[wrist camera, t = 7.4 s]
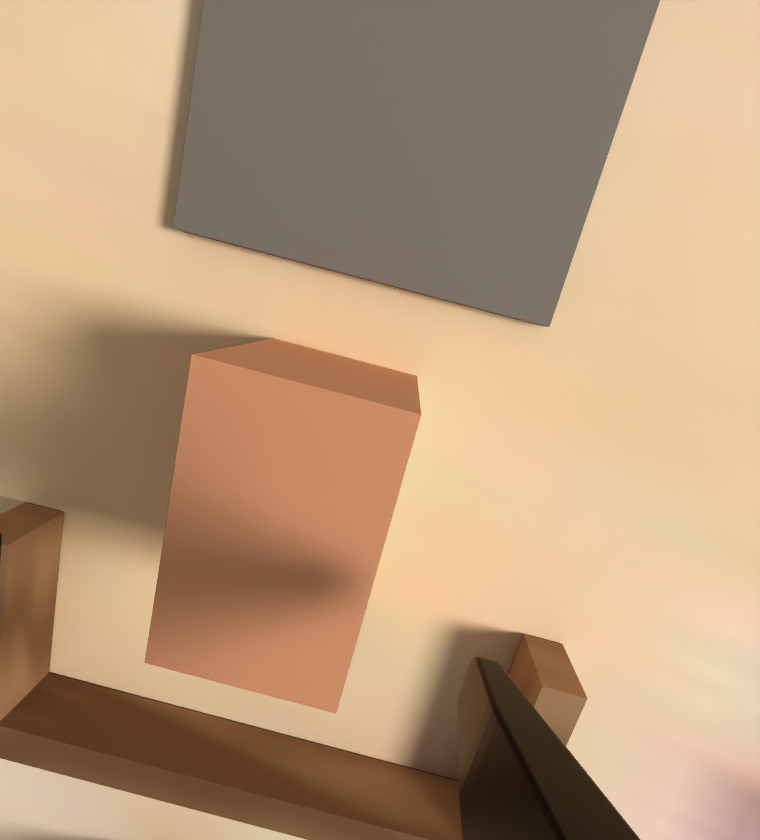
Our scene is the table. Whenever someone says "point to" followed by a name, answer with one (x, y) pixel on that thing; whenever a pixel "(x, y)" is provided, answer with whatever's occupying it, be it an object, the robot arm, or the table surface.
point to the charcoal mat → (410, 137)
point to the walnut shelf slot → (216, 728)
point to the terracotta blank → (279, 516)
